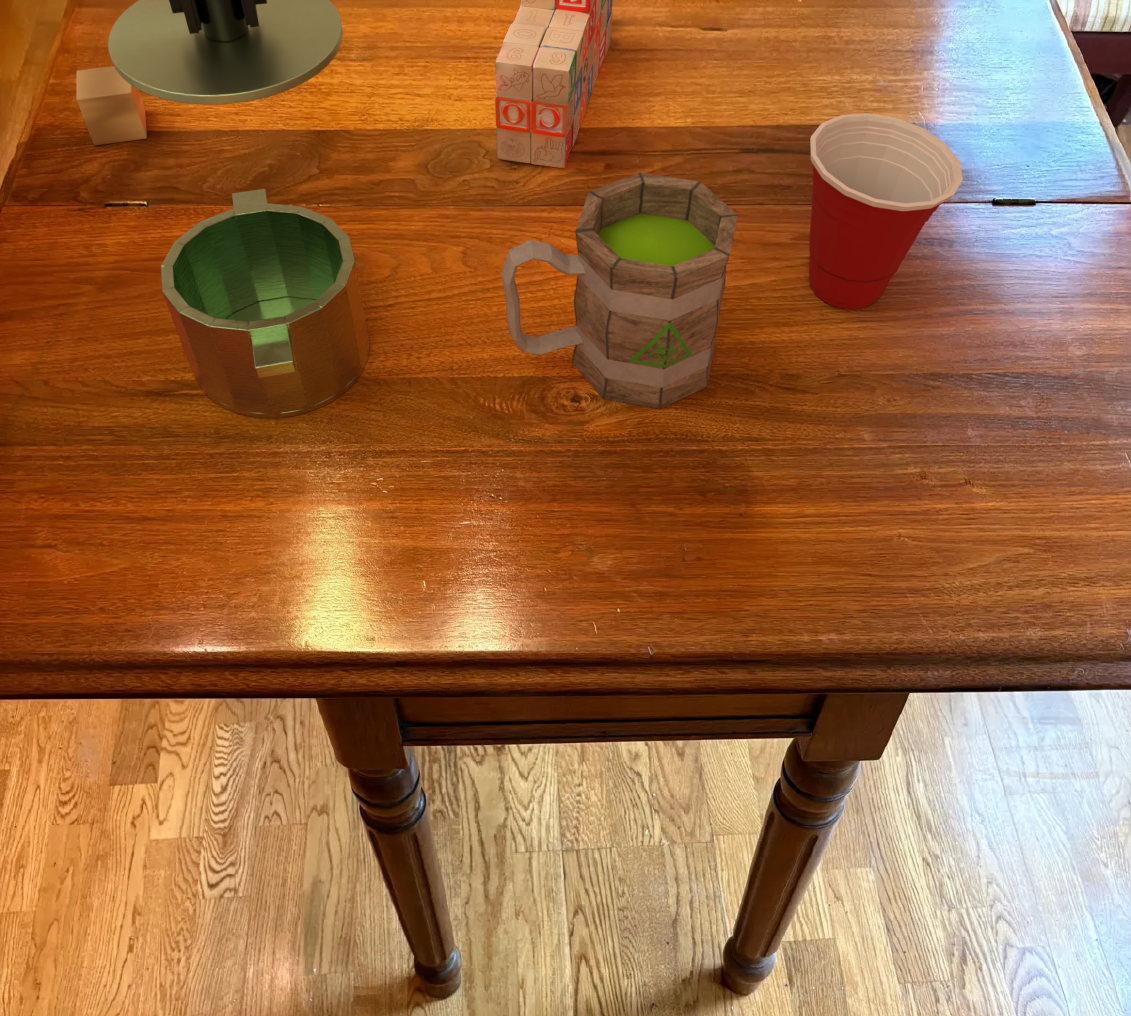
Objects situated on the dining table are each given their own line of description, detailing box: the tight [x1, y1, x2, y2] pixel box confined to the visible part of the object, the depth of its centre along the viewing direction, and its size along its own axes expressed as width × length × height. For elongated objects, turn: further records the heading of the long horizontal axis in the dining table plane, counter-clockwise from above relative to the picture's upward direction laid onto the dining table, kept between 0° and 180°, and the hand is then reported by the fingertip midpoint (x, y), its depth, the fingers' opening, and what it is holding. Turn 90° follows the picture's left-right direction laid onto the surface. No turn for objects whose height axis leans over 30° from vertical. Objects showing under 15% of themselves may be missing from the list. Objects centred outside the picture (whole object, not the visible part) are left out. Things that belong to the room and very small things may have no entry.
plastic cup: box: [808, 112, 964, 310], centre depth 80 cm, size 11×11×12 cm
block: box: [75, 65, 148, 146], centre depth 93 cm, size 4×4×4 cm
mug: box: [501, 172, 739, 410], centre depth 74 cm, size 16×11×12 cm
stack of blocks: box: [494, 0, 613, 169], centre depth 94 cm, size 21×6×12 cm, turn 168°
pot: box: [160, 188, 371, 419], centre depth 75 cm, size 13×18×8 cm
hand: (222, 15), depth 63 cm, fingers closed on lid, 2 cm apart
